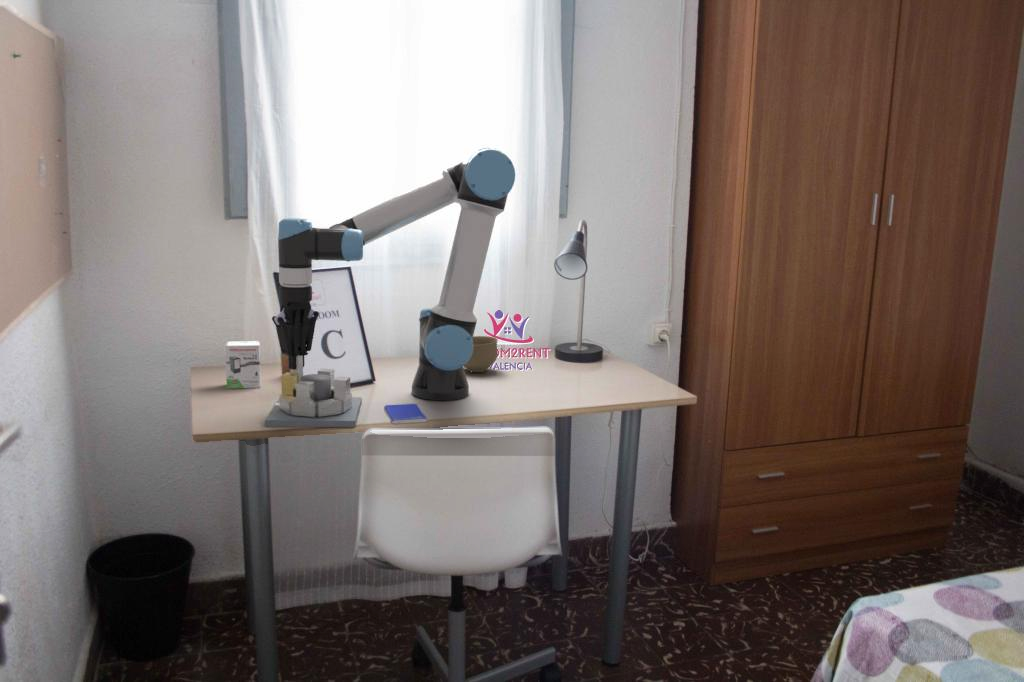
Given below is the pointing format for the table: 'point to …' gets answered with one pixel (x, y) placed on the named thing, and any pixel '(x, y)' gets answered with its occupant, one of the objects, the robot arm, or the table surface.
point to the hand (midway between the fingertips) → (296, 381)
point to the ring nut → (301, 396)
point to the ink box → (243, 364)
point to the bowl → (482, 353)
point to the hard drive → (405, 413)
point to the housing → (338, 420)
